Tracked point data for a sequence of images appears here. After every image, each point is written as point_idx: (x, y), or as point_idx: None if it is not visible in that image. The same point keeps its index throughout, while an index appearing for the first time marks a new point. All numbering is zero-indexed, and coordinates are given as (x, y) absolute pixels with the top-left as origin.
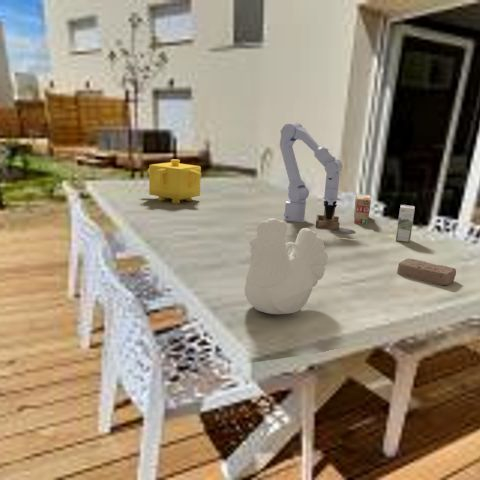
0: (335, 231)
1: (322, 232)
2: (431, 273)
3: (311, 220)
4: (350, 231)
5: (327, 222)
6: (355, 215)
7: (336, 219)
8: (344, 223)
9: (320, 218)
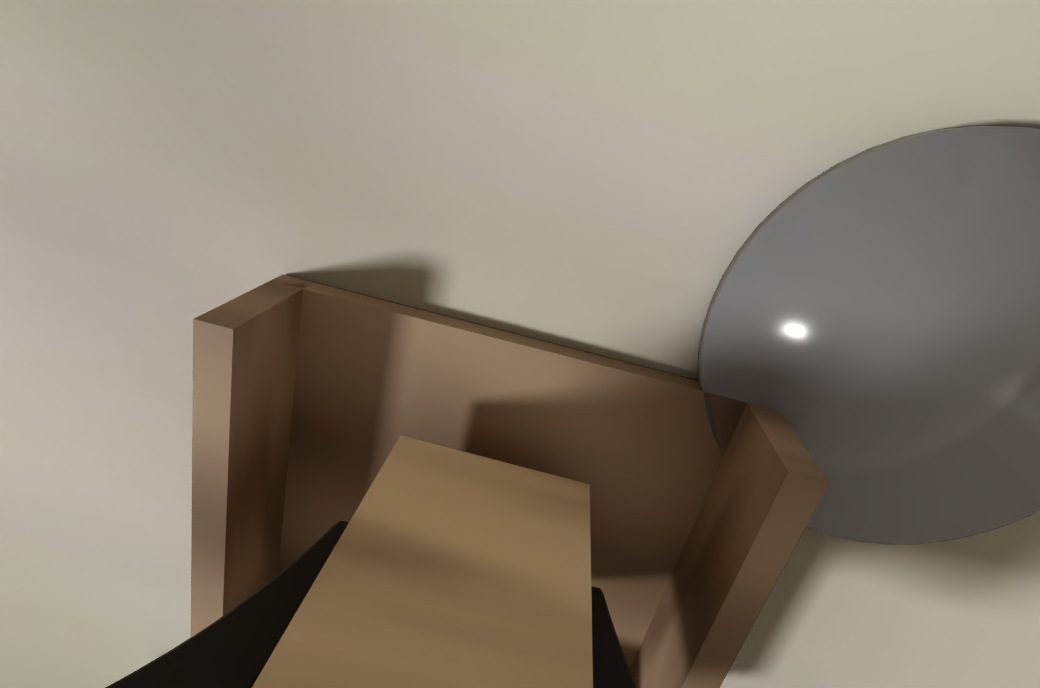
0: (938, 509)
1: (870, 650)
2: None
3: (179, 598)
4: (990, 236)
5: (725, 651)
6: None
7: (264, 346)
8: (200, 128)
9: (254, 584)
